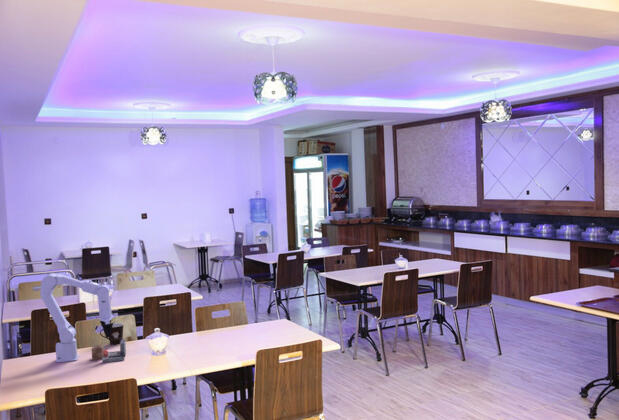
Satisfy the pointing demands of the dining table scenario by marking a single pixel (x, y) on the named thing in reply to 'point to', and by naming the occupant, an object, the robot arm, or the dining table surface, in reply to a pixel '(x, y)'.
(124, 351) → the press bed
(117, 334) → the coffee mug
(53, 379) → the dining table surface
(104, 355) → the lever
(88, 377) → the dining table surface
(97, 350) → the housing block
